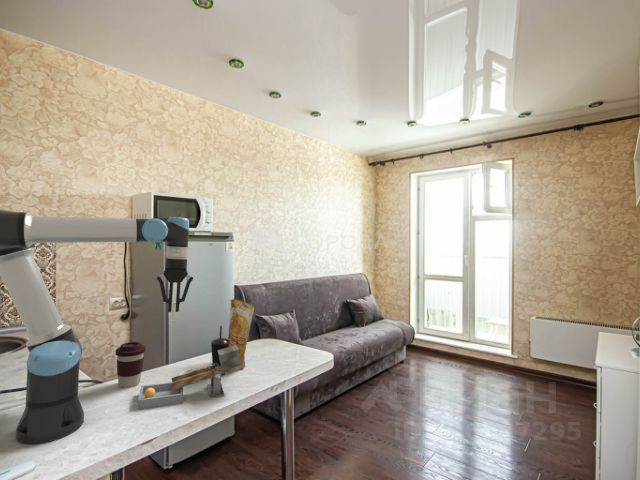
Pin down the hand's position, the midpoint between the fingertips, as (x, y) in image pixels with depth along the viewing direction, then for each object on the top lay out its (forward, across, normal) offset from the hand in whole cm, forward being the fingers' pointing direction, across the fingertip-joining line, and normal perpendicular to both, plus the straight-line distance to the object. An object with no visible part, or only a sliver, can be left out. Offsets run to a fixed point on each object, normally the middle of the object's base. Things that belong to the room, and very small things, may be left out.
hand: (172, 320), depth 124 cm
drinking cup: (+25, +19, +6) cm, 31 cm away
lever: (+19, +13, -6) cm, 24 cm away
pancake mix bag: (+24, +28, +16) cm, 40 cm away
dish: (+25, -2, -9) cm, 26 cm away
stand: (+24, +16, -9) cm, 31 cm away
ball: (+23, -6, -9) cm, 25 cm away
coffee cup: (+25, -14, +7) cm, 29 cm away
